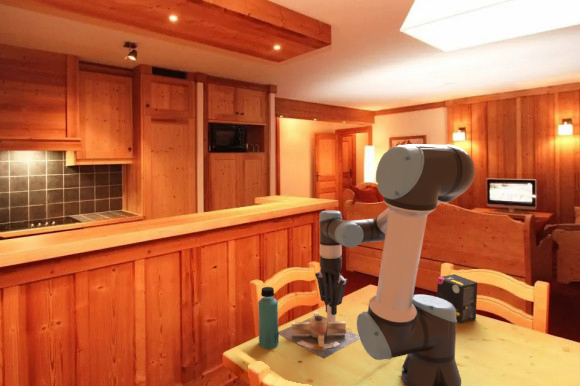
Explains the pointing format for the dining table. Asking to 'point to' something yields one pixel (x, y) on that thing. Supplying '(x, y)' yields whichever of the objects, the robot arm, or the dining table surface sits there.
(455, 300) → the tampon box
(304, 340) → the stand
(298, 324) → the capstan
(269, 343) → the beverage bottle
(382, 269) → the robot arm
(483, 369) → the dining table surface
